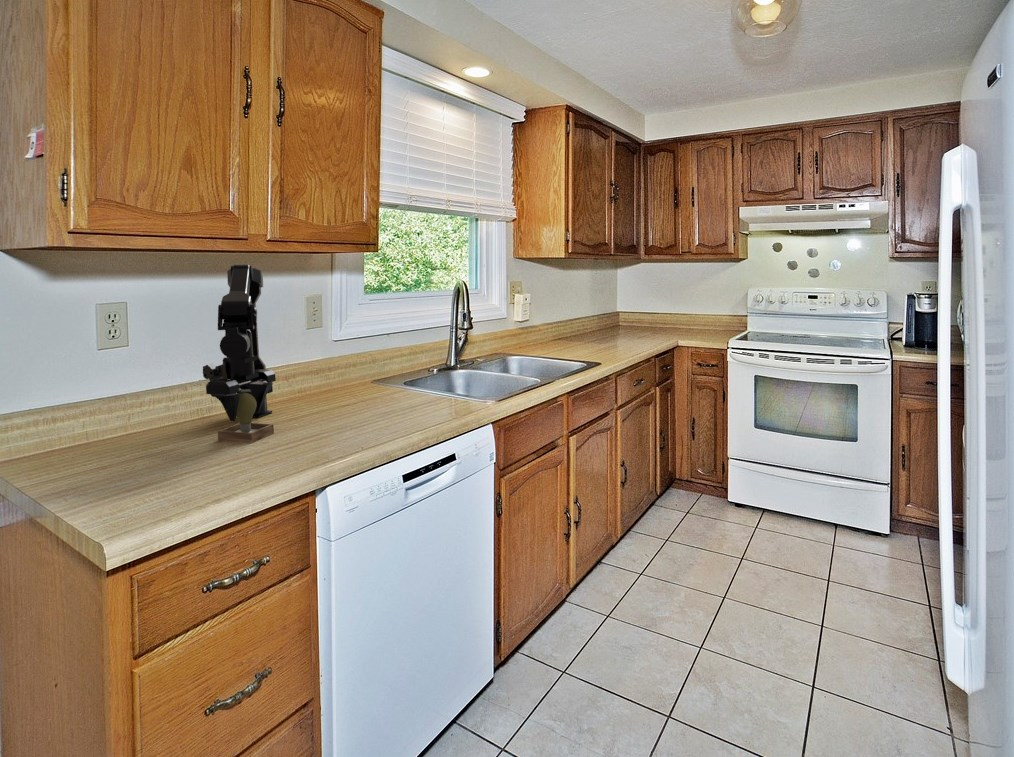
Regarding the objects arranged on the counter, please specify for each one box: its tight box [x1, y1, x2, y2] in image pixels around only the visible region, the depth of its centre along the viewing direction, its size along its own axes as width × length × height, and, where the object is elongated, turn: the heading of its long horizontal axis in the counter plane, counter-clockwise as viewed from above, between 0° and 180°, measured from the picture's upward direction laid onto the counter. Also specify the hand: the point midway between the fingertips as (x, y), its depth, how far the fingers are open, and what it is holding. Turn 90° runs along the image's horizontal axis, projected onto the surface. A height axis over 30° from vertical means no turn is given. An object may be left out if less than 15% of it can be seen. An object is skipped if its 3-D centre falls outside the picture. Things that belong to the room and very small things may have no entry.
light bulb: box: [236, 393, 257, 433], centre depth 153 cm, size 6×6×10 cm
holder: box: [217, 422, 275, 444], centre depth 154 cm, size 9×9×2 cm
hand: (245, 416), depth 153 cm, fingers open, 9 cm apart
